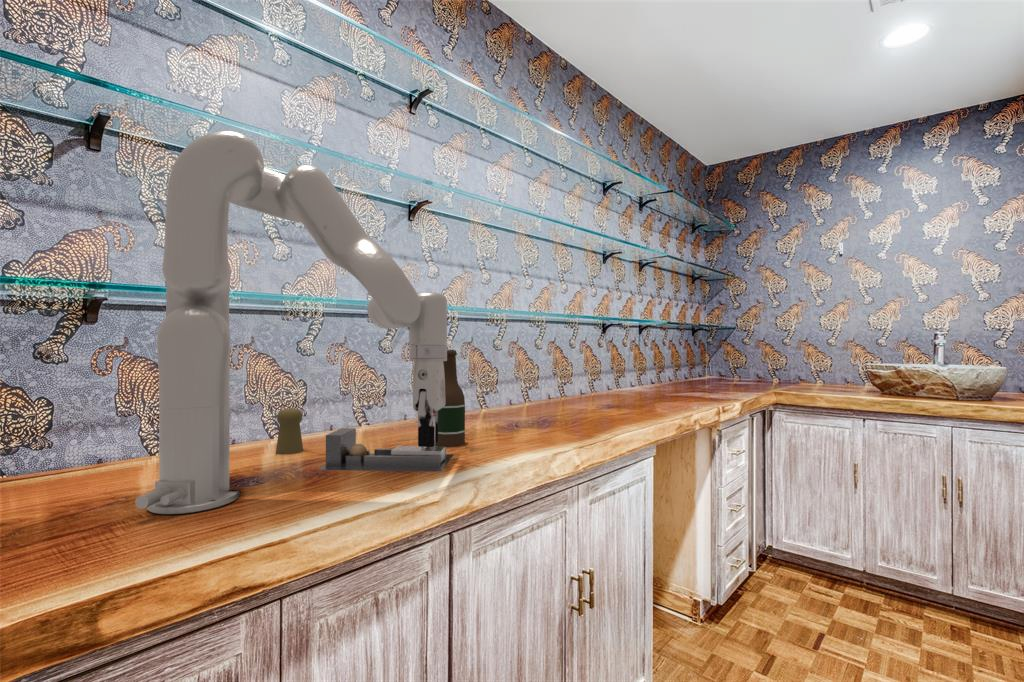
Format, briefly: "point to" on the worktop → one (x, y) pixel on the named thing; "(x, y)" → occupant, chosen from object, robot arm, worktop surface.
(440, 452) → the grey and clear stand
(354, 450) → the walnut
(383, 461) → the nutcracker base
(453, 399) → the beer bottle
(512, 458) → the worktop surface
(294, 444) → the cork
